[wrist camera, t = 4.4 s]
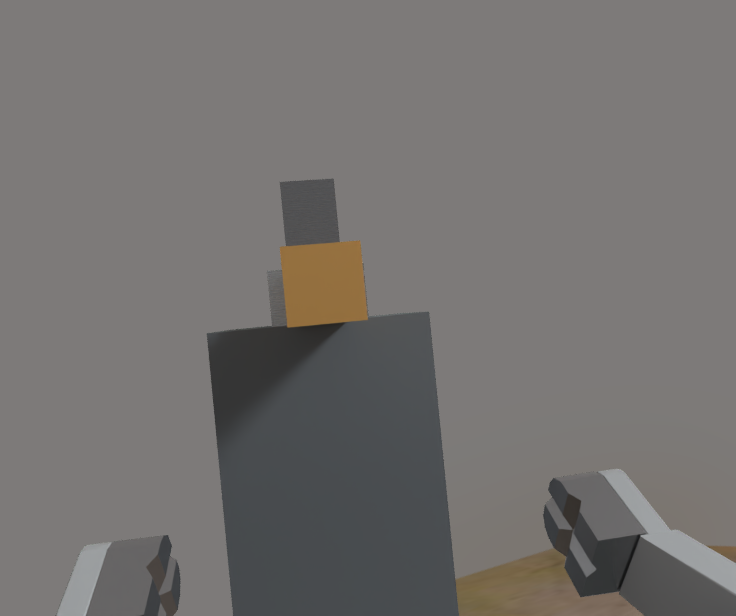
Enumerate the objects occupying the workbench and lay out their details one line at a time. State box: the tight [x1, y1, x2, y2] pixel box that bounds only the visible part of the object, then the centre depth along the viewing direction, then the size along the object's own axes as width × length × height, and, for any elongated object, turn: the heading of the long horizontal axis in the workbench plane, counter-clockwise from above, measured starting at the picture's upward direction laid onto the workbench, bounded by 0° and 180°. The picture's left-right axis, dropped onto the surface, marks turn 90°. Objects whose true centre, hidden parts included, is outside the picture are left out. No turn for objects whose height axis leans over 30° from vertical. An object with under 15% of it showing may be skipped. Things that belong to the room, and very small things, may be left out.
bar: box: [280, 179, 368, 328], centre depth 27 cm, size 3×18×8 cm, turn 7°
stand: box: [207, 263, 459, 616], centre depth 32 cm, size 18×9×29 cm, turn 97°
